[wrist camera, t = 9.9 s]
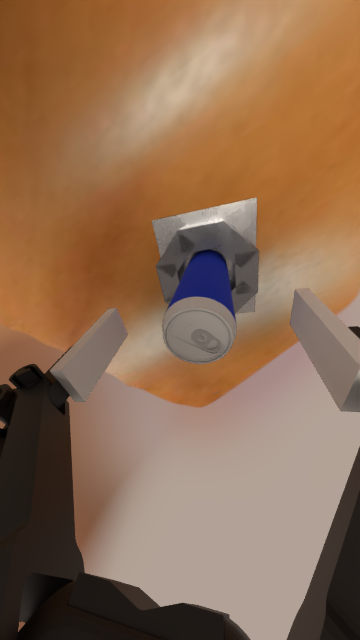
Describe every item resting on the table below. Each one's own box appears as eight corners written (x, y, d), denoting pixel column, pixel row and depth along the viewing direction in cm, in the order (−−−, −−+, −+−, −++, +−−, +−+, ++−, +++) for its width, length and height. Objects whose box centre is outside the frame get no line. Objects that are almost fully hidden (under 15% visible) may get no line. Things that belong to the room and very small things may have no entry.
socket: (154, 219, 23) (142, 223, 20) (255, 197, 20) (263, 196, 17) (176, 314, 30) (170, 330, 27) (253, 308, 27) (259, 325, 24)
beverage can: (181, 274, 25) (146, 344, 13) (201, 240, 23) (183, 287, 10) (212, 293, 26) (207, 376, 14) (235, 263, 23) (256, 332, 11)
